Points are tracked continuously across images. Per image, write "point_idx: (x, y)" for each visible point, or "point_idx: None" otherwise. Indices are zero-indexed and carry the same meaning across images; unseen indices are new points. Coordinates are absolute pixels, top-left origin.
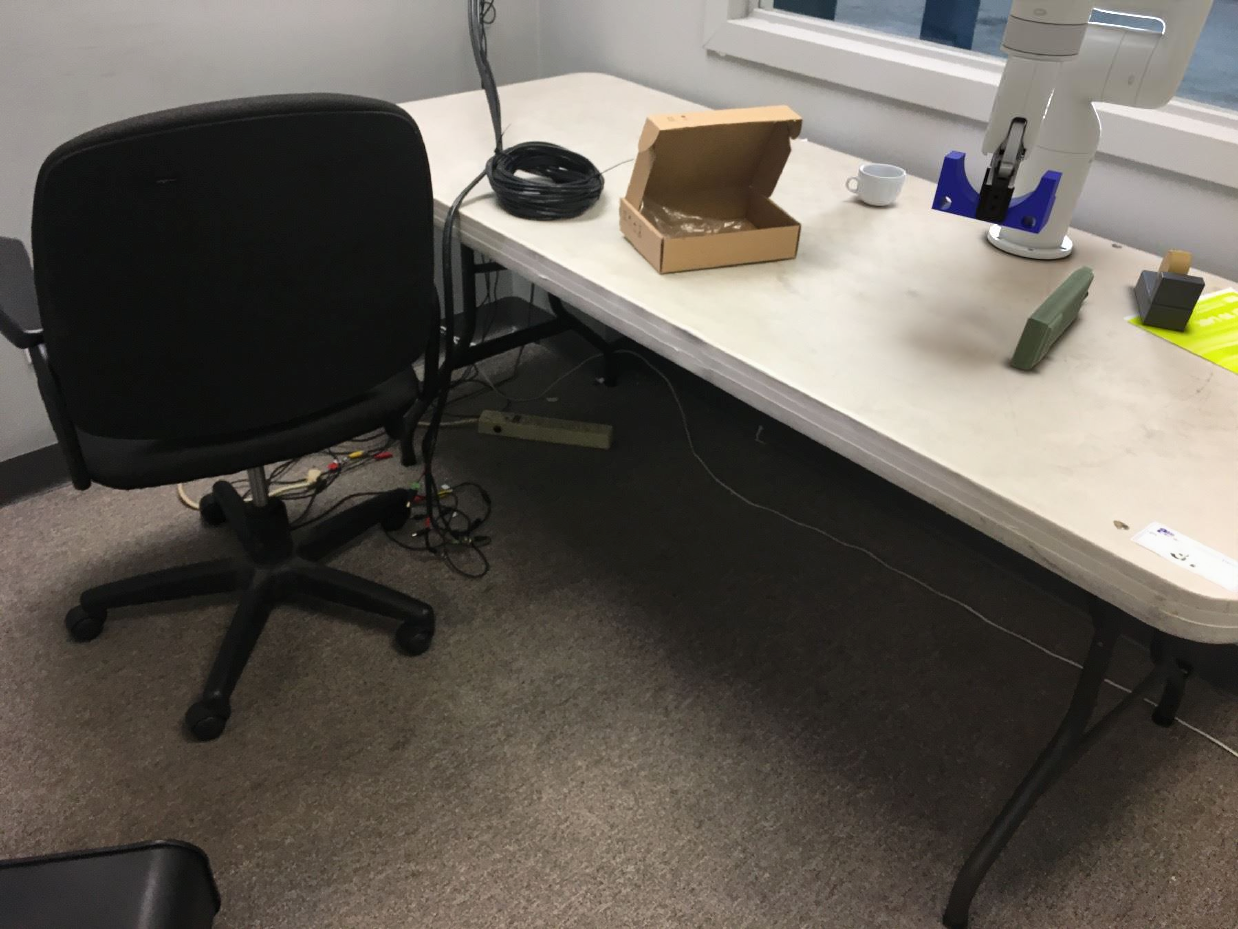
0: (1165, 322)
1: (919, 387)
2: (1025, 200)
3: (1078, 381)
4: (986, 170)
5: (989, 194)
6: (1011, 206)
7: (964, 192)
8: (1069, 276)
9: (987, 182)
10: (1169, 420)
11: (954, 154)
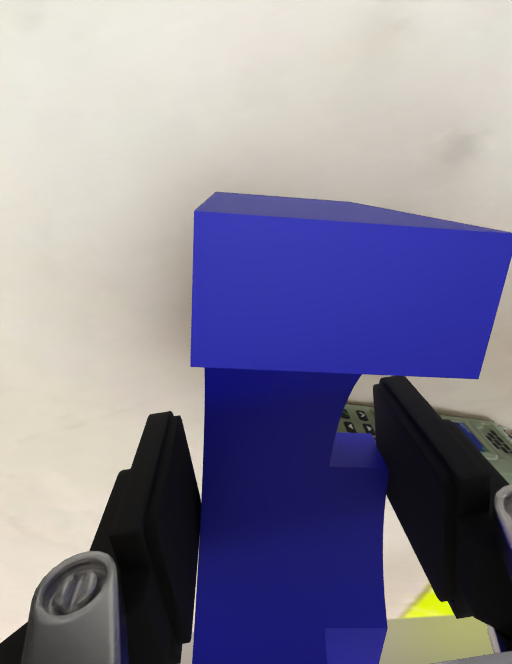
0: None
1: (50, 278)
2: (195, 648)
3: None
4: (455, 470)
5: (94, 540)
6: (208, 567)
7: (217, 369)
8: (509, 472)
9: (43, 582)
10: None
11: (357, 290)
